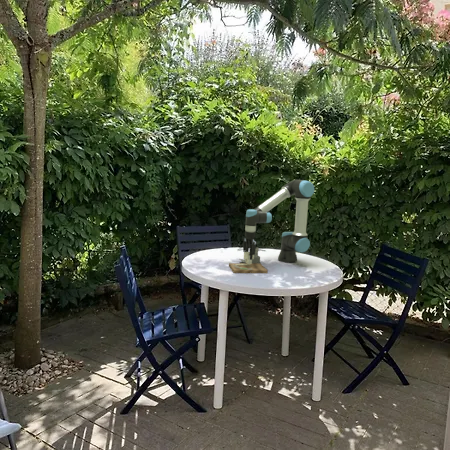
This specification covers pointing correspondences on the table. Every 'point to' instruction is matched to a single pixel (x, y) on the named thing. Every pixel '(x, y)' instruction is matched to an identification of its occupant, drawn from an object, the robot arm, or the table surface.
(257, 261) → the camera
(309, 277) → the table surface
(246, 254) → the cream pointer block
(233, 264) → the tuner board
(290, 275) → the table surface
